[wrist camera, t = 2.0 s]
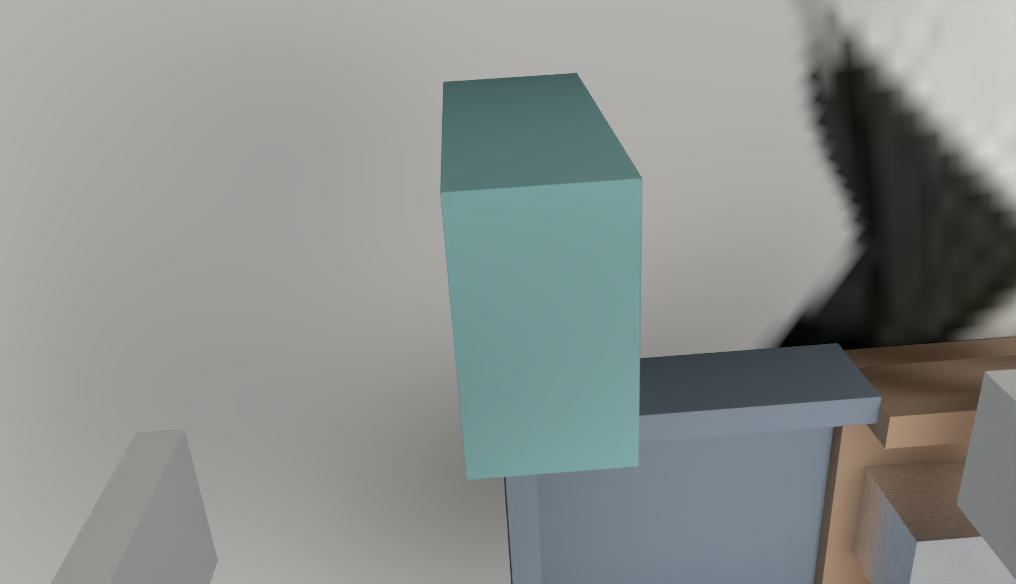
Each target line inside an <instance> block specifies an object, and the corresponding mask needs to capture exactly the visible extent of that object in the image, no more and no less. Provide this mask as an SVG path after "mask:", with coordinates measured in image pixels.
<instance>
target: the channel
mask: <svg viewBox="0 0 1016 584" xmlns="http://www.w3.org/2000/svg"><path fill="white" fill-rule="evenodd" d="M844 352H845V353H846V354H847V355H848V356H849V358H850V359H851V360H852V361H853V363H854V364H855V365H856V366H857V367H858V369H859V370H860V371H861V372H862V374H863V375H864V376H865V377H866V378H867V380H868V381H869V382H870V383H871V385H872V386H873V387H874V388H875V389H876V391H877V392H878V393H879V394H880V396H881V403H880V409H879V416H878V423H874V424H861V425H849V426H836V427H834V428H833V436H832V444H831V452H830V460H829V468H828V476H827V483H826V491H825V499H824V507H823V515H822V523H821V531H820V539H819V547H818V555H817V562H816V570H815V578H814V584H871V583H870V582H869V580H868V578H867V576H866V575H865V573H864V571H863V570H862V568H861V566H860V565H859V563H858V561H857V560H856V558H855V556H854V554H853V553H852V548H853V542H854V535H855V528H856V521H857V515H858V508H859V501H860V494H861V488H862V481H863V474H864V467H865V466H873V465H886V464H898V463H910V462H923V461H935V460H947V459H960V458H967V453H968V448H969V444H970V439H971V434H972V430H973V425H974V420H975V415H976V411H977V406H978V401H979V397H980V392H981V387H982V382H983V378H984V373H985V371H998V370H1011V369H1016V337H1008V338H995V339H982V340H969V341H956V342H943V343H930V344H917V345H904V346H891V347H878V348H865V349H852V350H844Z"/></svg>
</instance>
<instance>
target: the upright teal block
mask: <svg viewBox="0 0 1016 584" xmlns="http://www.w3.org/2000/svg"><path fill="white" fill-rule="evenodd" d="M442 118H443V119H442V120H443V121H442V154H441V158H442V159H441V191H440V193H441V204H442V215H443V226H444V237H445V248H446V259H447V270H448V280H449V292H450V303H451V314H452V325H453V336H454V347H455V358H456V368H457V379H458V391H459V402H460V412H461V423H462V435H463V445H464V457H465V468H466V479H467V480H473V479H486V478H498V477H511V476H523V475H536V474H548V473H561V472H573V471H586V470H598V469H610V468H623V467H635V466H639V394H640V317H641V315H640V314H641V313H640V312H641V240H642V239H641V238H642V177H641V176H640V174H639V172H638V171H637V169H636V167H635V166H634V164H633V163H632V161H631V159H630V158H629V156H628V155H627V153H626V152H625V150H624V148H623V147H622V145H621V143H620V142H619V140H618V139H617V137H616V135H615V134H614V132H613V130H612V129H611V127H610V126H609V124H608V122H607V121H606V119H605V118H604V116H603V115H602V113H601V111H600V110H599V108H598V107H597V105H596V103H595V102H594V100H593V99H592V97H591V95H590V94H589V92H588V90H587V89H586V87H585V86H584V84H583V82H582V81H581V79H580V78H579V76H578V74H577V73H571V74H556V75H541V76H526V77H512V78H497V79H482V80H467V81H451V82H443V117H442Z"/></svg>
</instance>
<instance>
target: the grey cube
mask: <svg viewBox="0 0 1016 584" xmlns="http://www.w3.org/2000/svg"><path fill="white" fill-rule="evenodd" d="M965 463H966V458H960V459H947V460H935V461H923V462H910V463H898V464H886V465H873V466H865V467H864V474H863V481H862V488H861V494H860V501H859V508H858V515H857V521H856V528H855V535H854V542H853V548H852V553H853V554H854V556H855V558H856V560H857V561H858V563H859V565H860V566H861V568H862V570H863V571H864V573H865V575H866V576H867V578H868V580H869V582H870V583H871V584H1016V580H1015V578H1014V577H1013V576H1012V575H1011V573H1010V572H1009V571H1008V569H1007V568H1006V567H1005V566H1004V564H1003V563H1002V562H1001V560H1000V559H999V558H998V557H997V555H996V554H995V553H994V551H993V550H992V549H991V548H990V546H989V545H988V544H987V542H986V541H985V540H984V539H983V537H982V536H981V535H980V533H979V532H978V531H977V530H976V528H975V527H974V526H973V524H972V523H971V522H970V521H969V519H968V518H967V517H966V515H965V514H964V513H963V512H962V510H961V509H960V508H959V506H958V505H957V500H958V496H959V491H960V486H961V482H962V477H963V472H964V467H965Z"/></svg>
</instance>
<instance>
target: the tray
mask: <svg viewBox="0 0 1016 584" xmlns="http://www.w3.org/2000/svg"><path fill="white" fill-rule="evenodd" d="M880 403H881V396H880V394H879V393H878V392H877V391H876V389H875V388H874V387H873V386H872V385H871V383H870V382H869V381H868V380H867V378H866V377H865V376H864V375H863V374H862V372H861V371H860V370H859V369H858V367H857V366H856V365H855V364H854V363H853V361H852V360H851V359H850V358H849V356H848V355H847V354H846V353H845V352H844V350H843V349H842V348H841V347H840V345H839V344H838V343H834V344H821V345H808V346H795V347H782V348H769V349H756V350H744V351H731V352H718V353H704V354H692V355H678V356H665V357H653V358H640V394H639V466H635V467H623V468H610V469H598V470H586V471H573V472H561V473H548V474H536V475H523V476H511V477H504V483H505V497H506V511H507V512H506V513H507V527H508V542H509V556H510V571H511V584H814V578H815V570H816V562H817V555H818V547H819V539H820V531H821V523H822V515H823V507H824V499H825V491H826V483H827V476H828V468H829V460H830V452H831V444H832V436H833V428H834V427H836V426H849V425H861V424H874V423H878V416H879V409H880Z"/></svg>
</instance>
